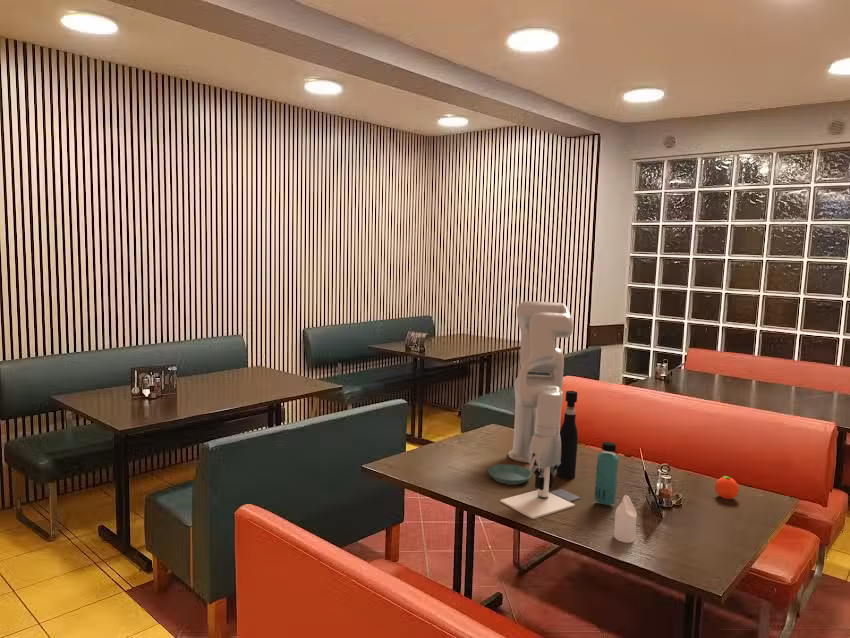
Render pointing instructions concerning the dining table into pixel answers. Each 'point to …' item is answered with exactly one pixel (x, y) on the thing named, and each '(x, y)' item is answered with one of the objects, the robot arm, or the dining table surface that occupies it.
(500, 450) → the dining table surface
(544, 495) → the marker
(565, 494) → the plate
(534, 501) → the pad
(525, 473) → the saucer
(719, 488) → the clementine
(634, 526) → the white tapered cylinder
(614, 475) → the beverage bottle
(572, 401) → the black bottle
